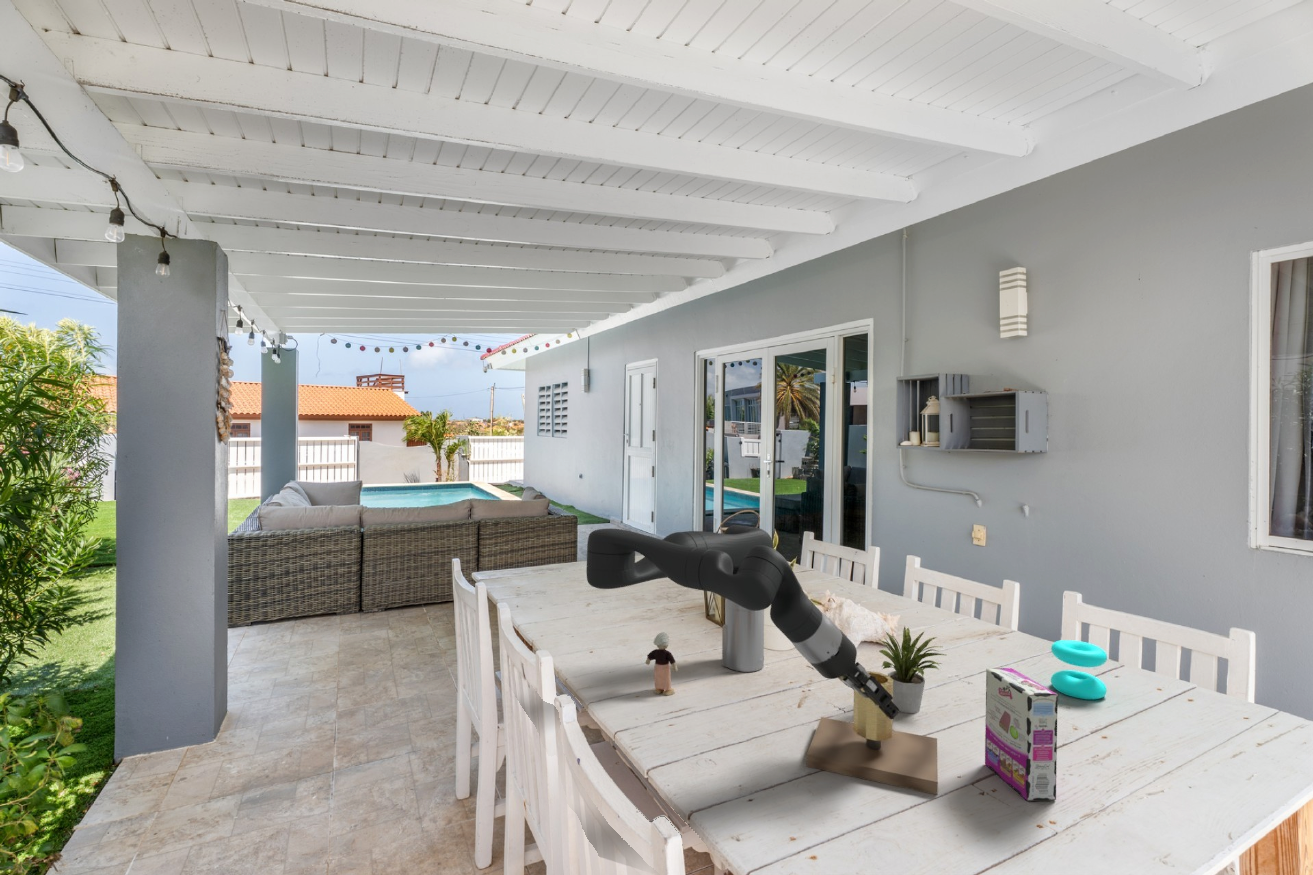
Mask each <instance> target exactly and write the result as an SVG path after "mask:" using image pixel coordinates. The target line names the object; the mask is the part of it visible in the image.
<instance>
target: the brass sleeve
mask: <svg viewBox="0 0 1313 875" xmlns="http://www.w3.org/2000/svg"><path fill="white" fill-rule="evenodd" d="M866 672H867V673H869V674H870V675H872V676H874V677H875V678H876V680H877V681H878V682H879V683H880V684H881V685H882V686H883V687H884V688H885V689H886V691H887V692H888V693H889V694H891V695H892V697H893V679H892V678H891V677H889V676H888V674H885V673H881V672H877V671H872V670H866ZM867 679H868V678H867ZM860 690H861V691H862V692H864V690H863V688H861V689H860ZM891 701H892V702H893V699H892V700H891ZM893 720H894V719H890V718H889V717H887V716H886V714H885V713H884V712H883V711H882V710H881V709H880V708H879V707H878V706H876V705H875V704H874V703H873V702H872V701H871V700H870V699H869V698H864V697H862V696H861V695H860V694H859V693H858V692H857V691H856V690H855V689H854V690H853V722H852V723H853V730H854V731H855V732H856V734H857V735H859V736H861V737H863V738H866V739H870V740H875V741H881V740H888V739H890V738H892V730H893V727H894V726H893Z"/></svg>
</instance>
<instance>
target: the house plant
mask: <svg viewBox="0 0 1313 875" xmlns="http://www.w3.org/2000/svg"><path fill="white" fill-rule="evenodd" d="M903 627H904V628H903V630H902V642H901V646H900V644H899V642H898V640H897V639H896V638H895V637H894V636H892V635H891V634H890V633H889V632H887V631H885V633H886V635H887V636H888V639H889V641H888V640H887V638H886V637H883V636H882V638H883V639H884V640H882V639H881V638H877V639H878V640H875V642H881V643H883V645H884V646H885V647H886V648H887V650H888V651H887V650H886V649H885V650H884V649H880V650H878V652H879V653H880V654H882V655H884V656H886V658H888V659H889V660H890V661H891V662H892V663H893V664H892V663H891V662H890V661H887V660H884V661H882V665H881V667H882V670H883V669H884V670H885V669H889V668H893V669H894V670H892V671H890V672H888V673H887V675H888V676H889V677H891V678H892V679H893V703H894V704H895V705H896V706H897V707H898V708H899V712H901V713H904V714H905V713H906V714H917V713H918V712H920V710H921V705H922V701H923V700H922V699H923V694H924V689H925V685H926V684H925V682H926V679H925V677H924V674H925V672H924V670H925V669H937V670H938V671H941V670H940V668H938V667H937V666H936V665H938V666H940V664H941V665H943V663H940V662H937V661H934V660H924V661H922V660H923V659H925V658H927V657H933V656H946V654H945V653H939V652H938V650H937V649H933V648H942V646H938V645H936V646H935V645H934V646H929V644H930V643H931V642H932V641H933V640H935V639H937V638H938V636H934V637H931V638H929V639H927V640H925V641H924V642H923V643H922V644H921V645H920V646H919V647H918V646H917V644H918V643H919V641H920V639H921V637H923V635H924V633H925V631H923V632H921V633H920V634H918V636H917V637H916V638H914V640H913V641H912V637H911V634H910V633H911V632H910V631H911V630H910V628H909V627H908V628H906V626H903ZM891 644H892V645H891ZM927 646H929V647H927ZM930 651H933V652H930ZM937 652H938V653H937ZM927 663H929V664H927ZM940 667H941V666H940Z"/></svg>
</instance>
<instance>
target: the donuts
mask: <svg viewBox="0 0 1313 875" xmlns="http://www.w3.org/2000/svg"><path fill="white" fill-rule="evenodd" d="M1050 650H1051V652H1052V655H1053V656H1054V657H1055V658H1057V659H1058V660H1059V661H1060V662H1063V663H1066V664H1068V665H1072V666H1075V667H1081V668H1097V667H1101V666H1103V665H1105V663H1106V662H1107V660H1108V655H1107V652H1106V651H1105V650H1104V649H1103V648H1101V647H1100V646H1098V645H1096V644H1092V643H1090V642H1086V641H1082V640H1074V639H1060V640H1057V641H1054V642H1053V643H1052V644H1051V648H1050ZM1050 682H1051V685H1052V686H1053V688H1054V689H1055V690H1056V691H1057V692H1060V693H1061V694H1063V695H1065V696H1068V697H1072V698H1077V699H1082V700H1099V699H1102V698H1104V697H1105V696H1106V695H1107V692H1108V690H1107V687H1106V684H1105V683H1104V682H1103V681H1102V680H1101V679H1100V678H1098V677H1096V676H1094V675H1092V674H1090V673H1087V672H1084V671H1078V670H1069V669H1065V670H1063V669H1062V670H1059V671H1056V672H1054V674H1052V675H1051V677H1050Z"/></svg>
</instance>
